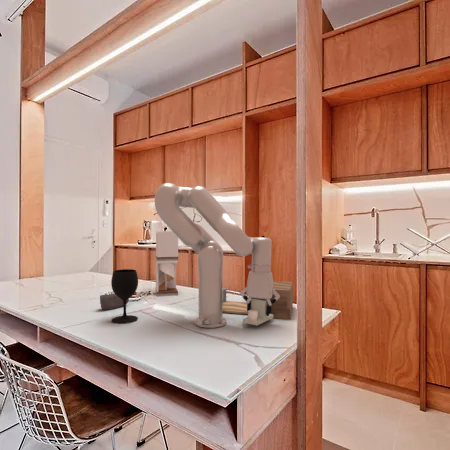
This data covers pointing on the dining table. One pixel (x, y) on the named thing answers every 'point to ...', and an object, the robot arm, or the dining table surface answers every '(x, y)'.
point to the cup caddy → (257, 312)
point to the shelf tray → (233, 306)
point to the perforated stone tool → (110, 302)
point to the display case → (166, 263)
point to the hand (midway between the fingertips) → (258, 313)
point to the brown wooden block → (282, 300)
